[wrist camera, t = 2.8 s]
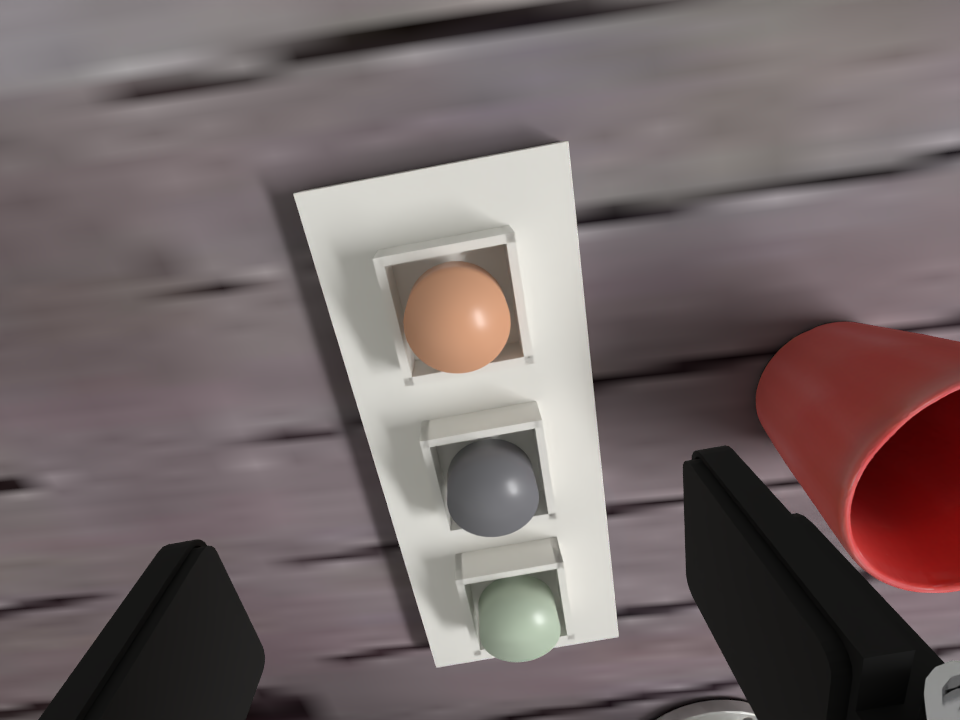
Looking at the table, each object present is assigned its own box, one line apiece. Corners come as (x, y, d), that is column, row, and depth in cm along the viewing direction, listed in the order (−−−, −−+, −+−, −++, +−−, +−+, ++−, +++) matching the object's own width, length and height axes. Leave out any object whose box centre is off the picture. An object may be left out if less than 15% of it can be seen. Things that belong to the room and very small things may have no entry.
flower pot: (780, 268, 27) (948, 332, 18) (960, 320, 28) (1197, 404, 19) (694, 443, 30) (795, 570, 21) (856, 481, 32) (1014, 613, 23)
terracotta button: (497, 252, 22) (501, 262, 21) (512, 346, 24) (517, 363, 22) (396, 271, 23) (392, 282, 21) (419, 363, 24) (416, 381, 22)
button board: (561, 141, 24) (578, 141, 20) (612, 617, 35) (628, 665, 32) (302, 190, 24) (278, 198, 21) (437, 647, 36) (435, 697, 32)
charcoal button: (526, 431, 26) (532, 453, 24) (538, 503, 28) (544, 528, 26) (439, 447, 26) (438, 470, 24) (456, 517, 28) (456, 544, 26)
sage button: (549, 568, 29) (555, 597, 28) (558, 624, 31) (564, 654, 29) (472, 582, 30) (473, 611, 28) (485, 636, 31) (487, 667, 29)
